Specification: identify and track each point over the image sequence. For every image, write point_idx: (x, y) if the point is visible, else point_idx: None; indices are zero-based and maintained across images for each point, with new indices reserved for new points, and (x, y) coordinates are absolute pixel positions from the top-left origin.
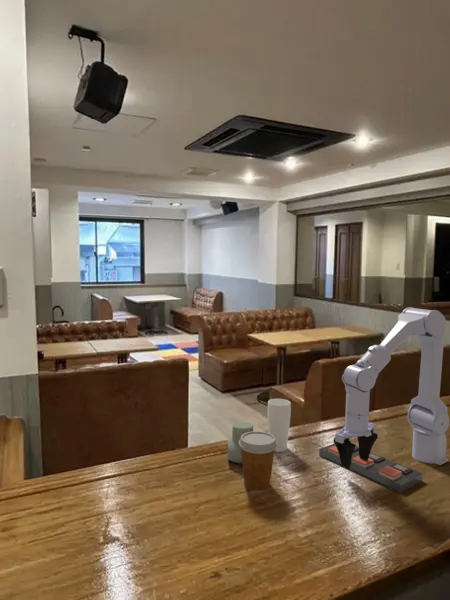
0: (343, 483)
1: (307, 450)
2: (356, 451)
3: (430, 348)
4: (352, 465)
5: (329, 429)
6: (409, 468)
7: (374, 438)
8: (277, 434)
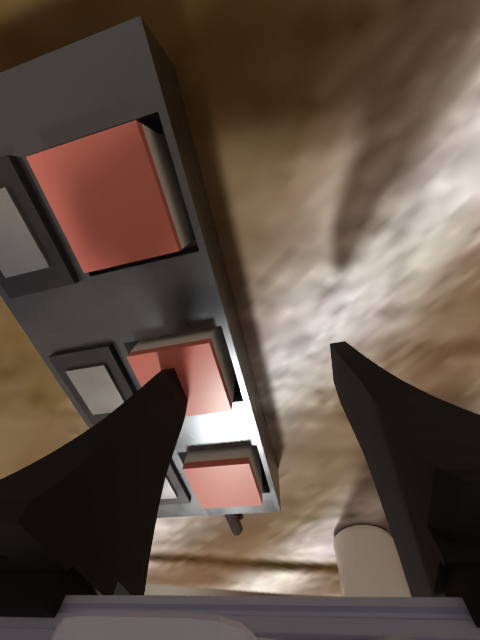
0: (341, 311)
1: (269, 512)
2: None
3: None
4: (244, 378)
5: None
6: None
7: (25, 493)
8: None
